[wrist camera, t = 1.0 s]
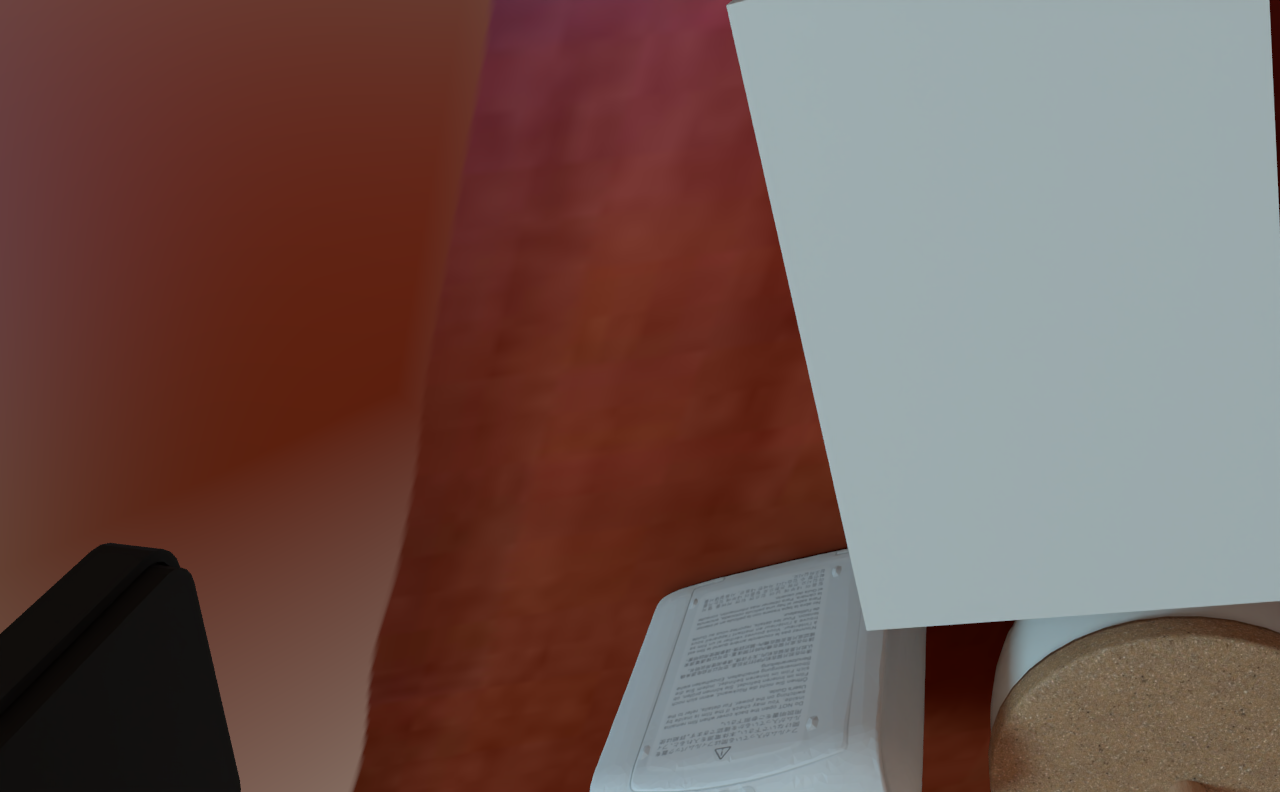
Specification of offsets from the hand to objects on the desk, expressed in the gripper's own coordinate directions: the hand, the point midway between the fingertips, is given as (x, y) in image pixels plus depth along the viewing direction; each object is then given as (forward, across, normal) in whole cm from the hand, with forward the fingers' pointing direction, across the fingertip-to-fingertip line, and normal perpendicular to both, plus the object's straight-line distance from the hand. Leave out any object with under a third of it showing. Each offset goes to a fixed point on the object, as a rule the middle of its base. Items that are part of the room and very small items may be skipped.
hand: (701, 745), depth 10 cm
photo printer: (+27, 0, +19) cm, 33 cm away
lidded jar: (+27, -12, +18) cm, 34 cm away
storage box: (+27, -5, +3) cm, 27 cm away
